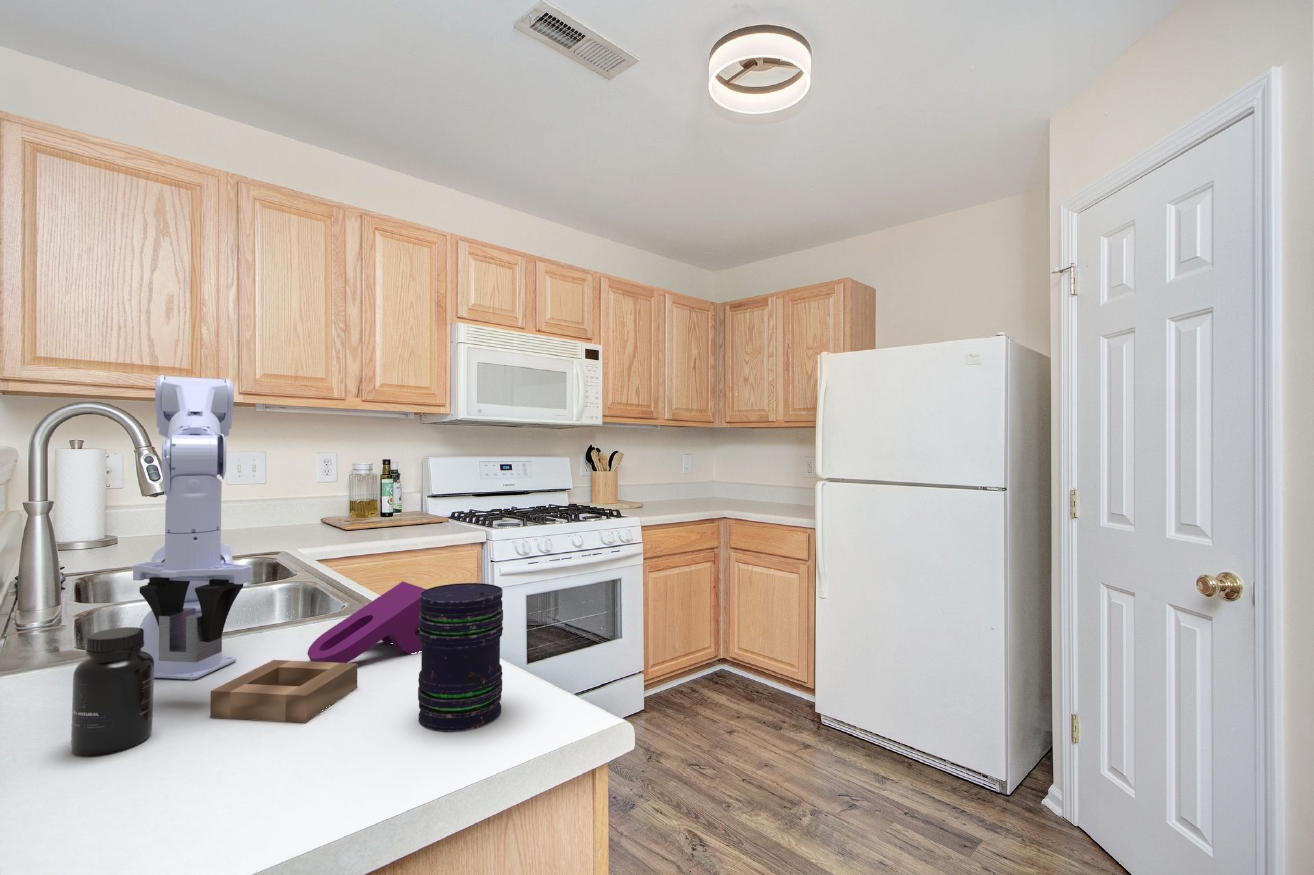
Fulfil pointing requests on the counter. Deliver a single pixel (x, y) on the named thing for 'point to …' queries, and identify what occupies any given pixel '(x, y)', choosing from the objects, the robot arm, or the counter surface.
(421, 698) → the dark blue ribbed cylinder
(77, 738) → the supplement bottle
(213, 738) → the counter surface
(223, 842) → the counter surface
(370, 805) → the counter surface
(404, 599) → the mounting bracket
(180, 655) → the bracket
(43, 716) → the counter surface
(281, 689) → the well block
